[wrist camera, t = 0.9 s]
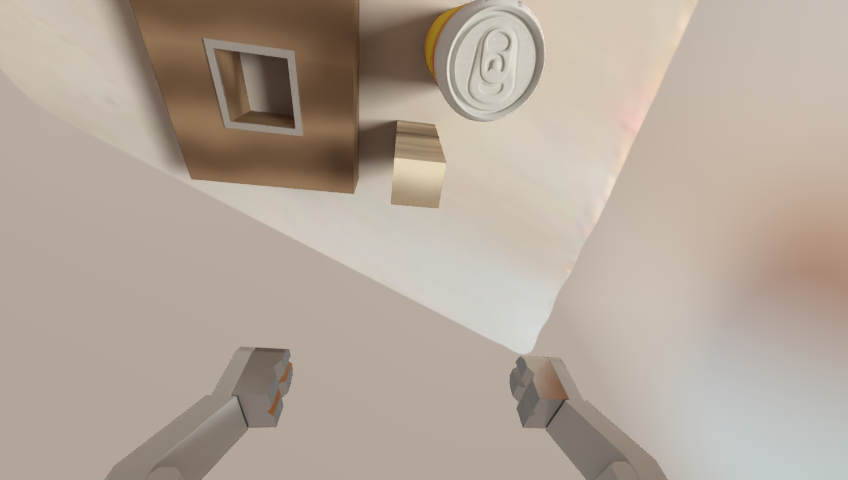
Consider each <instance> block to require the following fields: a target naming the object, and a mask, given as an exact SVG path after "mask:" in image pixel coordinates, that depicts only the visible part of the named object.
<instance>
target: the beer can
mask: <svg viewBox="0 0 848 480" xmlns="http://www.w3.org/2000/svg"><path fill="white" fill-rule="evenodd" d="M425 59H426V63H427V66H428V68H429V70H430V72H431V74H432V76H433V78H434V80H435V81H436V83H437V85H438V87H439V89H440V91H441V93H442V94H443V96H444V98H445V100H446V101H447V103H448V104H449V105H450V106H451V108H452V109H453V110H455V111H456V112H457V113H458V114H460V115H461V116H463V117H465V118H467V119H470V120H474V121H481V122H486V121H494V120H498V119H501V118H503V117H505V116H507V115H509V114H511V113H513V112H514V111H516V110H517V109H519V108H520V107H521V106H522V105H523V104H524V103H525V102H526V101H527V100H528V99H529V98H530V97H531V95H532V94H533V93H534V91H535V89H536V88H537V86H538V84H539V81H540V79H541V76H542V73H543V69H544V64H545V41H544V35H543V32H542V28H541V26H540V24H539V21H538V20H537V18H536V16H535V15H534V14H533V12H532V11H531V10H530V9H529V8H528V7H527V6H526V5H524V4H523V3H522V2H520V1H518V0H476V1H473V2H470V3H468V4H465V5H462V6H459V7H456V8H453V9H450V10H448V11H446V12H444V13H443V14H441V15H440V16H439V17H438V18H437V19H436V20H435V21H434V22H433V24H432V25H431V27H430V29H429V31H428V34H427V36H426V41H425Z"/></svg>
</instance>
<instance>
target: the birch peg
mask: <svg viewBox="0 0 848 480" xmlns="http://www.w3.org/2000/svg"><path fill="white" fill-rule="evenodd" d="M445 168H446V161H445V157H444V154H443V150H442V147H441V144H440V140H439V136H438V134H437V130H436V127H435V125H433V124H425V123H416V122H408V121H400V120H397V131H396V140H395V154H394V167H393V183H392V196H391V204H394V205H406V206H417V207H428V208H438V207H439V201H440V196H441V190H442V185H443V179H444V173H445Z"/></svg>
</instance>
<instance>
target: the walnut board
mask: <svg viewBox="0 0 848 480" xmlns="http://www.w3.org/2000/svg"><path fill="white" fill-rule="evenodd" d="M130 2H131V5H132V8H133V11H134V14H135V17H136V20H137V23H138V26H139V29H140V31H141V34H142V37H143V40H144V43H145V46H146V49H147V52H148V55H149V58H150V61H151V63H152V66H153V69H154V72H155V75H156V78H157V81H158V84H159V87H160V90H161V92H162V95H163V98H164V101H165V104H166V107H167V110H168V113H169V116H170V119H171V122H172V124H173V127H174V130H175V133H176V136H177V139H178V142H179V145H180V148H181V151H182V154H183V156H184V159H185V162H186V165H187V168H188V171H189V174H190V177H191V179H196V180H207V181H218V182H229V183H240V184H251V185H262V186H273V187H284V188H295V189H306V190H317V191H328V192H339V193H350V194H354V192H355V188H356V185H357V182H358V179H359V0H130ZM239 52H244V53H252V54H259V55H266V56H273V57H280V58H287V60H288V68H289V77H290V86H291V94H292V103H293V112H294V116H290V115H282V114H273V113H265V112H256V111H250V107H249V102H248V96H247V91H246V86H245V81H244V76H243V71H242V66H241V60H240V55H239Z"/></svg>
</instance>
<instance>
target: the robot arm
mask: <svg viewBox="0 0 848 480" xmlns="http://www.w3.org/2000/svg"><path fill="white" fill-rule="evenodd" d="M289 358H290V351H289V349H275V348H257V347H240V348H239V349H238V350H237V351H236V352H235V354H234V356H233V357H232V359H231V361H230V363H229V365H228V367H227V368H226V370H225V372H224V374H223V375H222V377H221V379H220V381H219V383H218V384H217V386H216V388H215V390H214V392H213V393H212V395H206V396H205V397H203V398H202V399H201V400H200V401H198V402H197V403H196V404H194V405H193V406H192V407H190V408H189V409H188V410H187V411H185V412H184V413H182V414H181V415H180V416H179V417H177V418H176V419H175V420H173V421H172V422H171V423H169V424H168V425H167V426H165V427H164V428H163V429H162V430H160V431H159V432H158V433H157V434H155V435H154V436H153V437H151V438H150V439H148V440H147V441H146V442H145V443H143V444H142V445H141V446H139V447H138V448H137V449H135V450H134V451H133V452H132V453H130V454H129V455H128V456H126V457H125V458H124V459H122V460H121V461H120V462H118V463H117V464H116V465H115V466H114V467H113V468H112V470H111V471H110V473H109V474H108V475H107V477H106V478H105V480H202V478H203V477H204V476H205V475H206V474H207V473H208V472H209V471H210V470H211V469H212V468H213V467H214V466H215V464H216V463H217V462H218V461H219V460H220V459H221V458H222V457H223V456H224V455H225V454H226V453H227V452H228V450H229V449H230V448H231V447H232V446H233V445H234V444H235V443H236V442H237V441H238V440H239V438H241V436H242V435H243V434H244V433H245V432H246V431H247V430H248V428H253V427H254V428H256V427H257V428H258V427H276V426H277V423H278V420H279V417H280V414H281V411H282V409H283V402H282V397H284V395H286V394H287V393H288V391H289V387H290V384H291V379H292V370H293V368H292V363H290V362H289ZM516 364H517V367H516V368H514V369H513V370H512V372H511V375H510V388H511V392H512V395H513V397H514V398H515V399H516V400H517V401H518V402H519V403H518V406H517V411H518V413H519V417H520V420H521V423H522V426H523V428H546V431H547V432H548V433H549V435H550V436H551V437H552V438H553V439H554V441H555V442H556V443H557V444H558V446H559V447H560V448H561V449H562V450H563V452H564V453H565V454H566V455H567V457H568V458H569V459H570V460H571V461H572V463H573V464H574V465H575V466H576V467H577V469H578V470H579V471H580V472H581V474H582V475H583V476H584V477H585V479H586V480H668V479H667V478H666V476H665V474H664V473H663V471H662V470H661V468H660V466H659V465H658V463H657V461H656V460H655V459H654V458H653V457H652V456H650V455H649V454H648V453H647V452H646V451H644V450H643V449H642V448H641V447H640V446H639V445H638V444H637V443H635V442H634V441H633V440H632V439H631V438H630V437H629V436H627V435H626V434H625V433H624V432H623V431H622V430H621V429H619V428H618V427H617V426H616V425H615V424H614V423H612V422H611V421H610V420H609V419H608V418H607V417H606V416H605V415H603V414H602V413H601V412H600V411H599V410H598V409H597V408H595V407H594V406H593V405H592V404H591V403H590V402H588V401H584V400H583V398H582V397H581V394H580V392H579V391H578V389H577V387H576V385H575V383H574V381H573V379H572V377H571V375H570V373H569V371H568V369H567V368H566V366H565V364H564V362H563V360H562V359H561V358H558V357H538V356H520V357H519V358H518V359H517V361H516Z"/></svg>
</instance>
